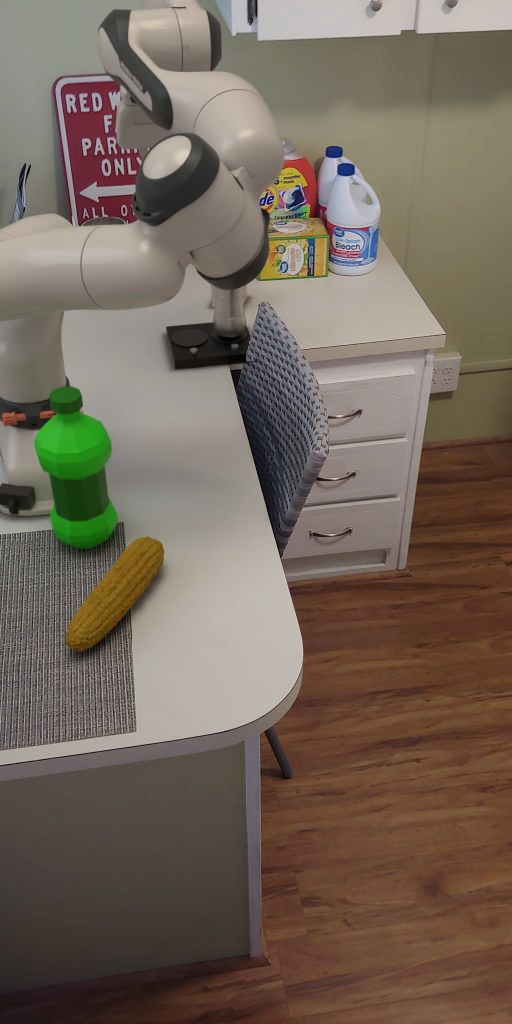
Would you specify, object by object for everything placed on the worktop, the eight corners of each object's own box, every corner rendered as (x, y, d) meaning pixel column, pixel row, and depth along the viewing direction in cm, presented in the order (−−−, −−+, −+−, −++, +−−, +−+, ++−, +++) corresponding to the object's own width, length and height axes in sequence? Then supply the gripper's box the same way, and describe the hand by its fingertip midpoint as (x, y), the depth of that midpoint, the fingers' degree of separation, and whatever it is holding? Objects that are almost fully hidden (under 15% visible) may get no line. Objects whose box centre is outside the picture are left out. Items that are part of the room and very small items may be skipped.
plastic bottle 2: (230, 322, 188) (228, 226, 175) (253, 334, 184) (252, 236, 171) (206, 333, 184) (202, 235, 172) (228, 345, 181) (226, 246, 168)
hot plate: (256, 361, 180) (256, 347, 178) (174, 369, 178) (174, 355, 176) (244, 328, 191) (243, 314, 189) (166, 335, 189) (165, 321, 187)
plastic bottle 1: (40, 554, 136) (12, 409, 121) (70, 510, 144) (48, 370, 128) (104, 566, 134) (84, 421, 118) (131, 521, 142) (115, 380, 126)
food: (137, 556, 136) (134, 525, 132) (171, 567, 134) (169, 535, 130) (58, 655, 121) (52, 623, 117) (96, 668, 119) (90, 636, 115)
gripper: (233, 77, 156) (234, 161, 165) (110, 84, 153) (118, 168, 162) (239, 87, 151) (240, 173, 160) (113, 94, 148) (121, 181, 157)
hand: (178, 171), depth 161 cm, fingers open, 8 cm apart
